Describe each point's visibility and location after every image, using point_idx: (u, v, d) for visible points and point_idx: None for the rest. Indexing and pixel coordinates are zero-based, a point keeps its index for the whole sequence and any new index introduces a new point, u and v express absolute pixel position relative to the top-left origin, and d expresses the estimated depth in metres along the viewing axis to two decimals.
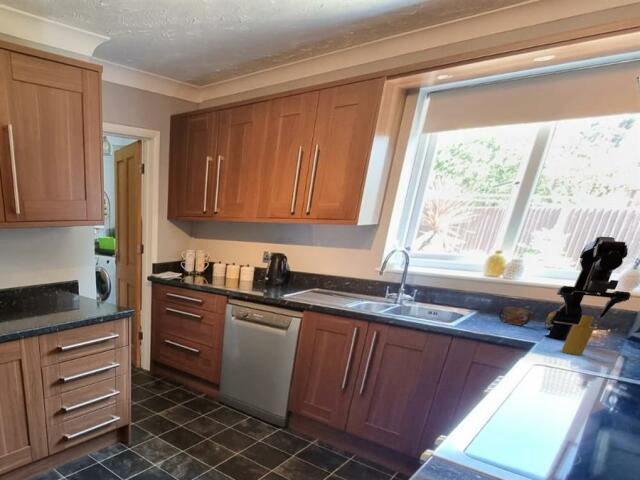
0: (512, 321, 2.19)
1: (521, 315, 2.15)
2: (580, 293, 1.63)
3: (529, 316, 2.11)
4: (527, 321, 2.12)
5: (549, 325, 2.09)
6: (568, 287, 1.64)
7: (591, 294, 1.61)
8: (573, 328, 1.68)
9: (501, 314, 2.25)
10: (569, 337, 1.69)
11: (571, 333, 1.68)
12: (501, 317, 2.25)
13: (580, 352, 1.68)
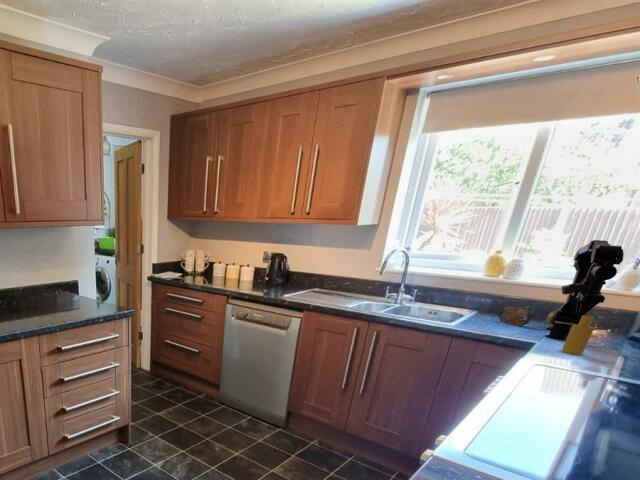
0: (512, 321, 2.19)
1: (521, 315, 2.15)
2: None
3: (529, 316, 2.11)
4: (527, 321, 2.12)
5: (549, 325, 2.09)
6: None
7: None
8: (573, 328, 1.68)
9: (501, 314, 2.25)
10: (569, 337, 1.69)
11: (571, 333, 1.68)
12: (501, 317, 2.25)
13: (580, 352, 1.68)
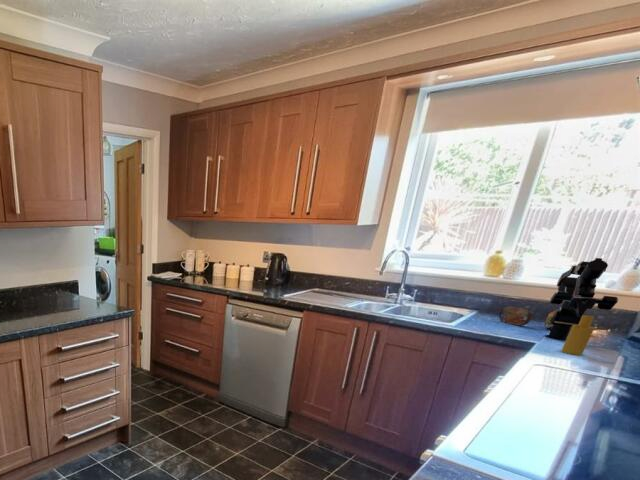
0: (512, 321, 2.19)
1: (521, 315, 2.15)
2: None
3: (529, 316, 2.11)
4: (527, 321, 2.12)
5: (549, 325, 2.09)
6: None
7: None
8: (573, 328, 1.68)
9: (501, 314, 2.25)
10: (569, 337, 1.69)
11: (571, 333, 1.68)
12: (501, 317, 2.25)
13: (580, 352, 1.68)
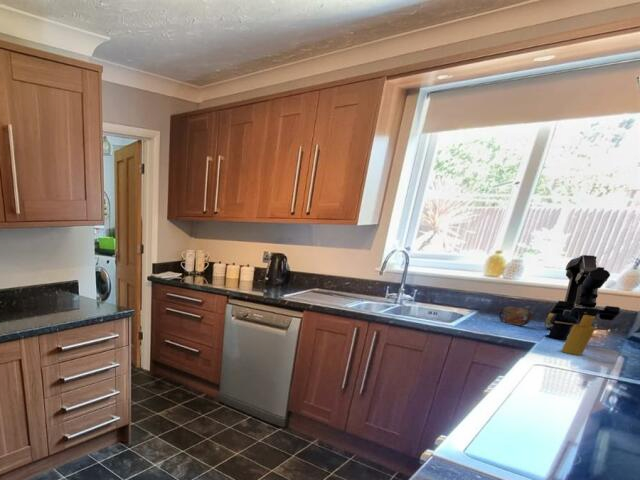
0: (512, 321, 2.19)
1: (521, 315, 2.15)
2: None
3: (529, 316, 2.11)
4: (527, 321, 2.12)
5: (549, 325, 2.09)
6: None
7: None
8: (574, 328, 1.67)
9: (501, 314, 2.25)
10: (569, 337, 1.69)
11: (572, 333, 1.68)
12: (501, 317, 2.25)
13: (580, 352, 1.68)
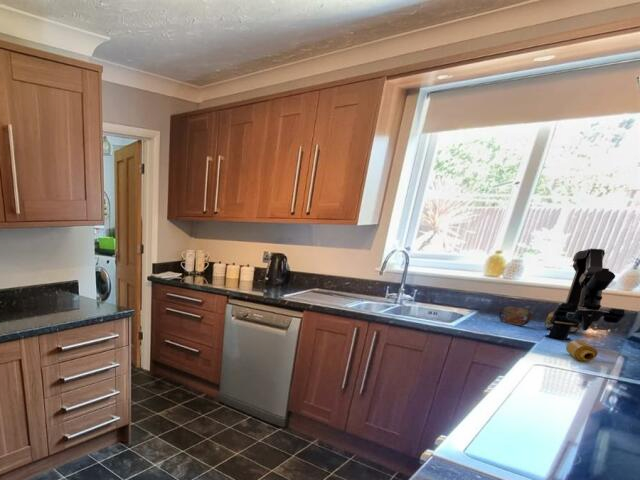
0: (512, 321, 2.19)
1: (521, 315, 2.15)
2: None
3: (529, 316, 2.11)
4: (527, 321, 2.12)
5: (549, 325, 2.09)
6: None
7: None
8: (573, 354, 1.61)
9: (501, 314, 2.25)
10: (570, 352, 1.64)
11: (571, 353, 1.63)
12: (501, 317, 2.25)
13: None
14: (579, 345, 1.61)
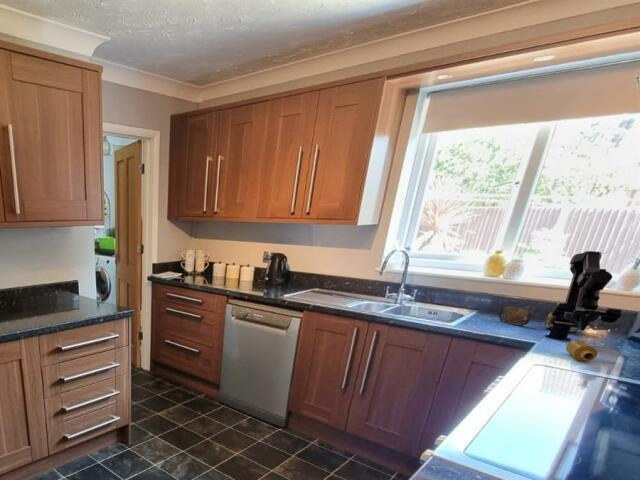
0: (512, 321, 2.19)
1: (521, 315, 2.15)
2: None
3: (529, 316, 2.11)
4: (527, 321, 2.12)
5: (549, 325, 2.09)
6: None
7: None
8: (573, 354, 1.61)
9: (501, 314, 2.25)
10: (570, 352, 1.64)
11: (571, 353, 1.63)
12: (501, 317, 2.25)
13: None
14: (579, 345, 1.61)
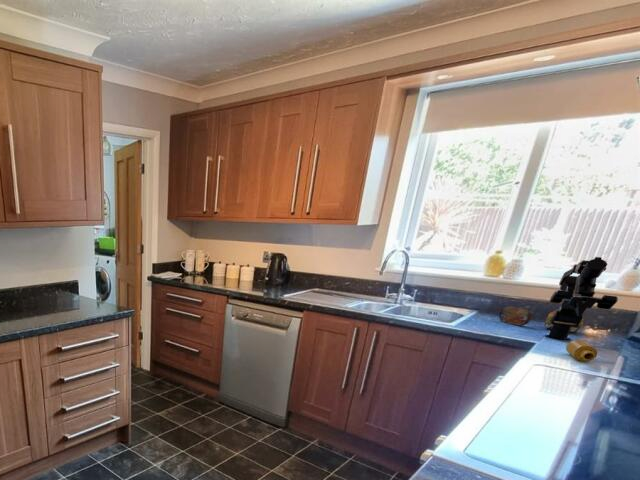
0: (512, 321, 2.19)
1: (521, 315, 2.15)
2: None
3: (529, 316, 2.11)
4: (527, 321, 2.12)
5: (549, 325, 2.09)
6: None
7: None
8: (573, 354, 1.61)
9: (501, 314, 2.25)
10: (570, 352, 1.64)
11: (571, 353, 1.63)
12: (501, 317, 2.25)
13: None
14: (579, 345, 1.61)
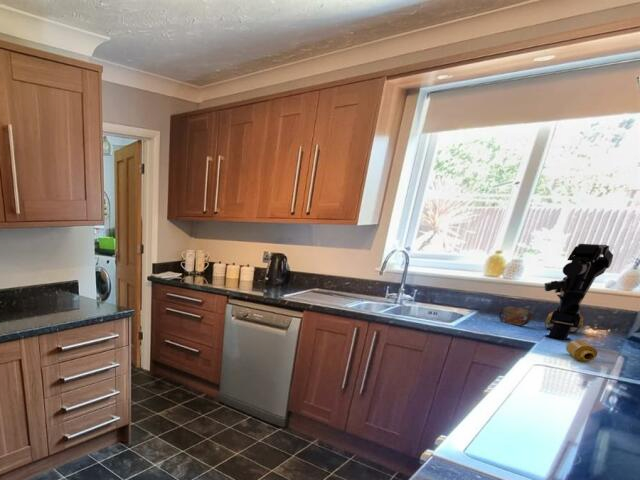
0: (512, 321, 2.19)
1: (521, 315, 2.15)
2: None
3: (529, 316, 2.11)
4: (527, 321, 2.12)
5: (549, 325, 2.09)
6: None
7: None
8: (573, 354, 1.61)
9: (501, 314, 2.25)
10: (570, 352, 1.64)
11: (571, 353, 1.63)
12: (501, 317, 2.25)
13: None
14: (579, 345, 1.61)
